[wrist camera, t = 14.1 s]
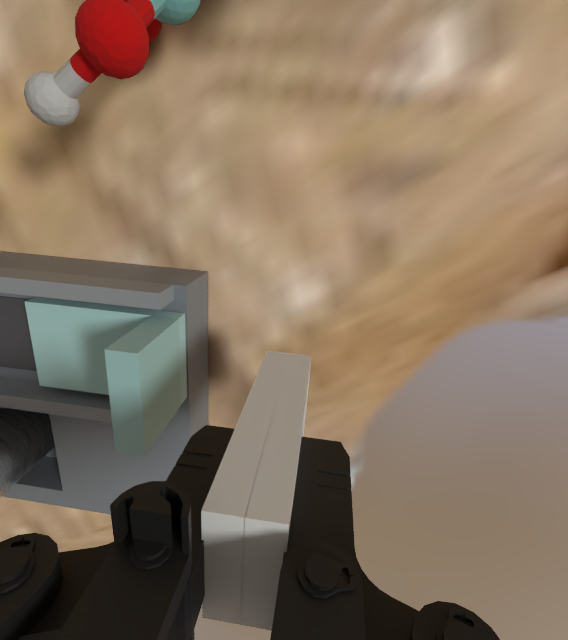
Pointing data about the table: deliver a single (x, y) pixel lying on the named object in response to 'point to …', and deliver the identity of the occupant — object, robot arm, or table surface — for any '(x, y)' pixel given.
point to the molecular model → (103, 51)
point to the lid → (114, 362)
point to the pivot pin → (22, 443)
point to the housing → (92, 408)
